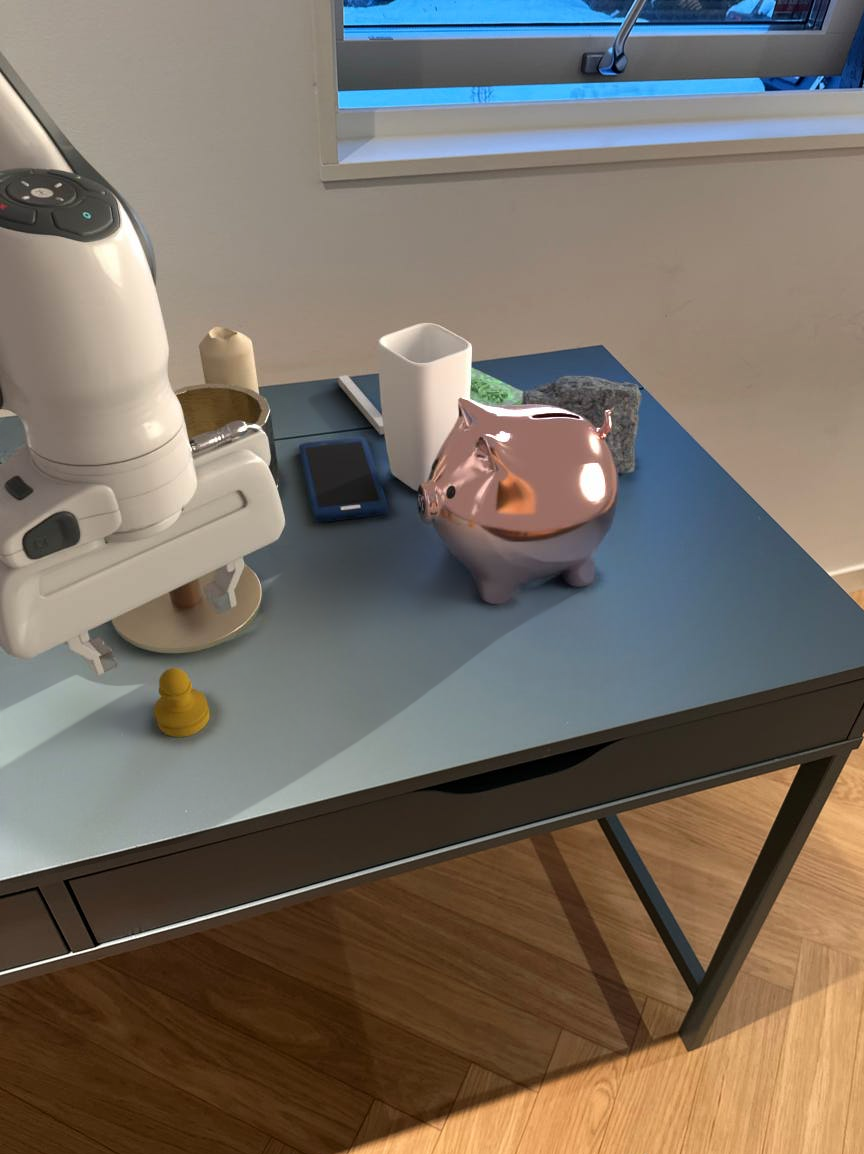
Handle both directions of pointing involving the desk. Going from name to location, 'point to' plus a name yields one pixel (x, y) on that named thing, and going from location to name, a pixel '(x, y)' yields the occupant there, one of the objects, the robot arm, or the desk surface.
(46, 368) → the robot arm
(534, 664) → the desk surface
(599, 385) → the stone
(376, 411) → the light grey square bar
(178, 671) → the chess piece
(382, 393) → the cup
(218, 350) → the candle
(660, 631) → the desk surface
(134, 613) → the tin lid
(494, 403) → the carved green slab
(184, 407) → the tin
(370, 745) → the desk surface
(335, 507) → the cell phone
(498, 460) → the piggy bank
